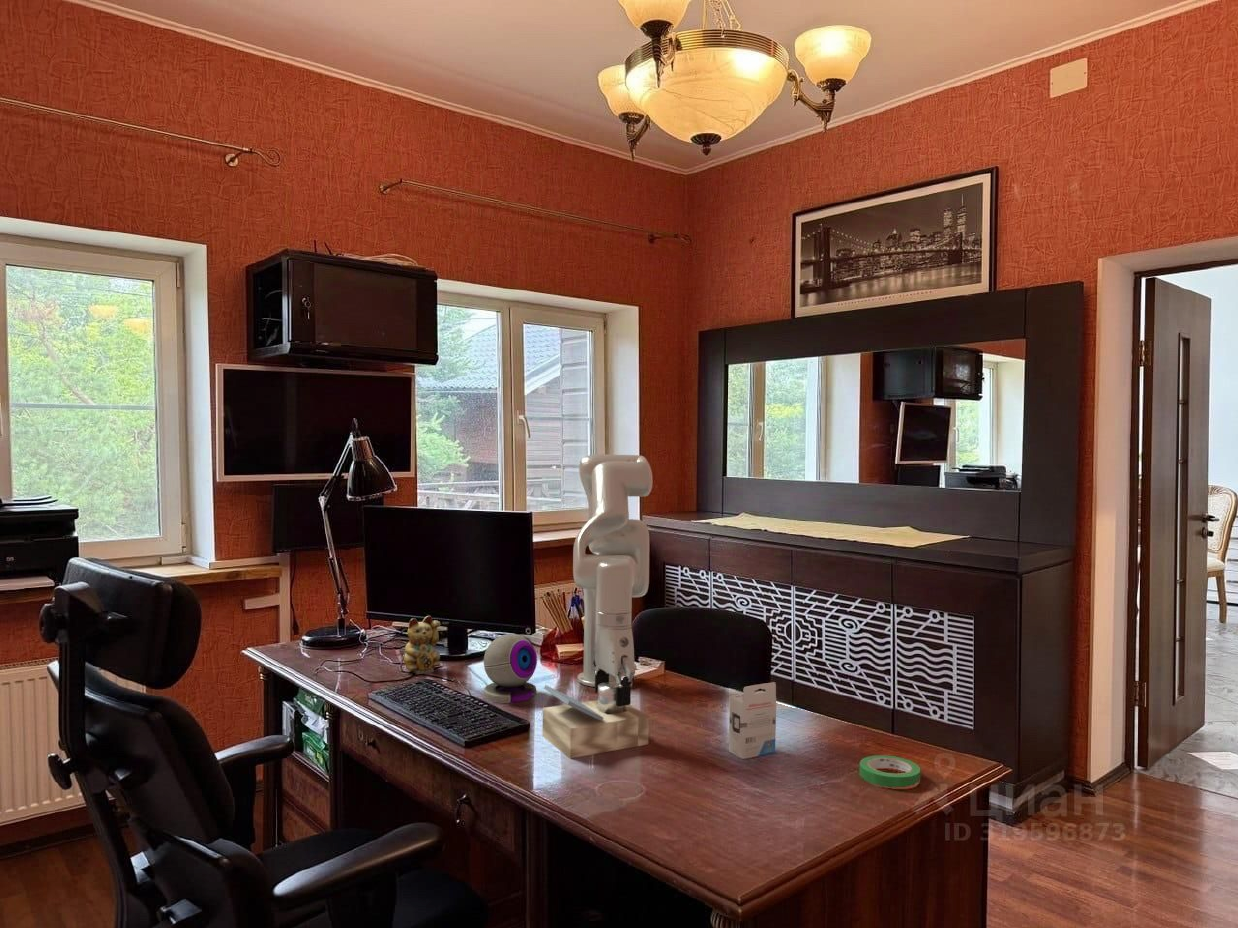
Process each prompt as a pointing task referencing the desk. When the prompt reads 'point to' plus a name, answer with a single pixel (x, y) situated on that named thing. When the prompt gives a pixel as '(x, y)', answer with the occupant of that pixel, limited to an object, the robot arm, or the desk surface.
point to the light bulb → (608, 698)
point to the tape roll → (889, 779)
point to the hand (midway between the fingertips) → (612, 698)
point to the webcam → (510, 669)
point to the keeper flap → (573, 703)
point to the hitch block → (594, 729)
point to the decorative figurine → (422, 646)
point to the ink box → (753, 721)
